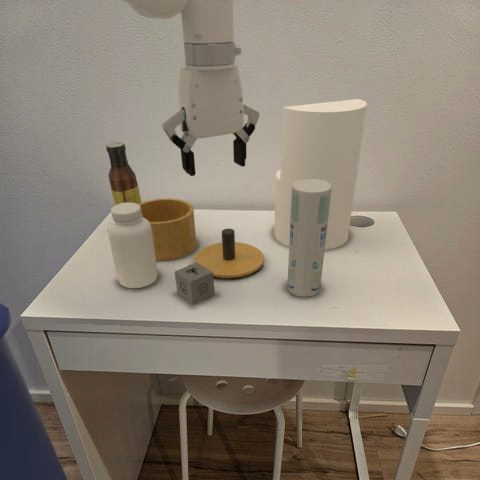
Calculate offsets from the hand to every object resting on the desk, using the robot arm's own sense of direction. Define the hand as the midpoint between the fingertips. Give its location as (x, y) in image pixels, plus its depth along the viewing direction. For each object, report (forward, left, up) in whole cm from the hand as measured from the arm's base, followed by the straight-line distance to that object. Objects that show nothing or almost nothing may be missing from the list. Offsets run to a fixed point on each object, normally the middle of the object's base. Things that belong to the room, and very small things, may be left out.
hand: (215, 169), depth 77 cm
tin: (-6, +16, -21) cm, 27 cm away
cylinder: (+26, +5, -21) cm, 34 cm away
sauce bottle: (-10, +29, -21) cm, 37 cm away
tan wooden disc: (+3, +2, -20) cm, 20 cm away
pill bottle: (-16, +5, -21) cm, 27 cm away
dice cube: (-8, -6, -21) cm, 23 cm away
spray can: (+11, -14, -21) cm, 27 cm away
